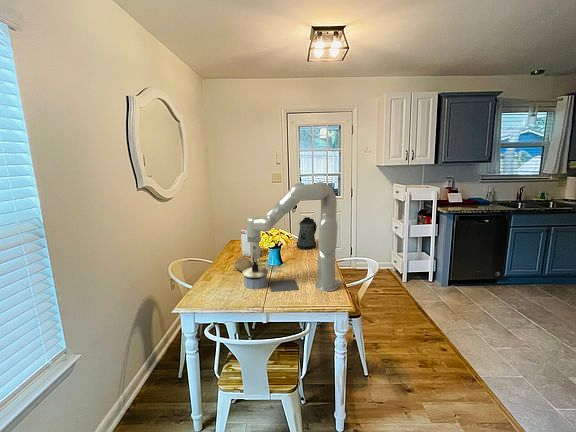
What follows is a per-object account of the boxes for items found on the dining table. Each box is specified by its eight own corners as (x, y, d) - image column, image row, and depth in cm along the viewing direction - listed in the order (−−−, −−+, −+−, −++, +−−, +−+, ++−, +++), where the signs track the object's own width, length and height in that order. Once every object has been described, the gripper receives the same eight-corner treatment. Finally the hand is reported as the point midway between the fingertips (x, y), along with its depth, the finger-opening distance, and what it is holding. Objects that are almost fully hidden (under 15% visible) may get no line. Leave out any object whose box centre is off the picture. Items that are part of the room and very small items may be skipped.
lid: (267, 268, 190) (266, 258, 189) (269, 276, 176) (269, 266, 175) (242, 269, 188) (241, 259, 187) (242, 278, 173) (241, 268, 172)
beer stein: (294, 249, 257) (294, 219, 252) (300, 243, 275) (299, 215, 271) (314, 250, 252) (314, 220, 248) (318, 244, 270) (318, 215, 266)
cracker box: (261, 256, 237) (260, 229, 234) (256, 259, 232) (255, 231, 229) (246, 254, 245) (245, 228, 241) (241, 256, 240) (240, 229, 236)
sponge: (237, 266, 221) (228, 269, 202) (239, 255, 222) (230, 258, 202) (255, 270, 220) (247, 274, 200) (257, 259, 220) (250, 262, 200)
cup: (265, 280, 190) (265, 271, 189) (267, 288, 178) (267, 278, 177) (244, 281, 189) (243, 272, 188) (244, 290, 176) (244, 280, 175)
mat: (294, 280, 190) (294, 279, 190) (299, 290, 175) (299, 289, 175) (268, 281, 188) (268, 281, 188) (270, 292, 173) (270, 291, 172)
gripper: (261, 242, 171) (262, 274, 174) (259, 235, 187) (260, 264, 190) (247, 242, 170) (248, 275, 173) (247, 235, 186) (248, 265, 189)
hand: (255, 269), depth 181 cm, fingers closed on lid, 3 cm apart
